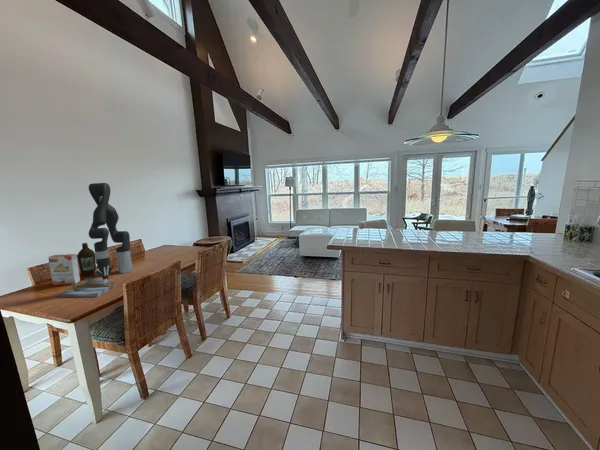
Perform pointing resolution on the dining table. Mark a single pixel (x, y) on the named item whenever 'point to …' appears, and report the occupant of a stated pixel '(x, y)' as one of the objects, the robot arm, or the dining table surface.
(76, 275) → the cracker box
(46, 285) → the dining table surface
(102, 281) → the lock bar
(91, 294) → the latched flap box
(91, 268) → the olive oil
